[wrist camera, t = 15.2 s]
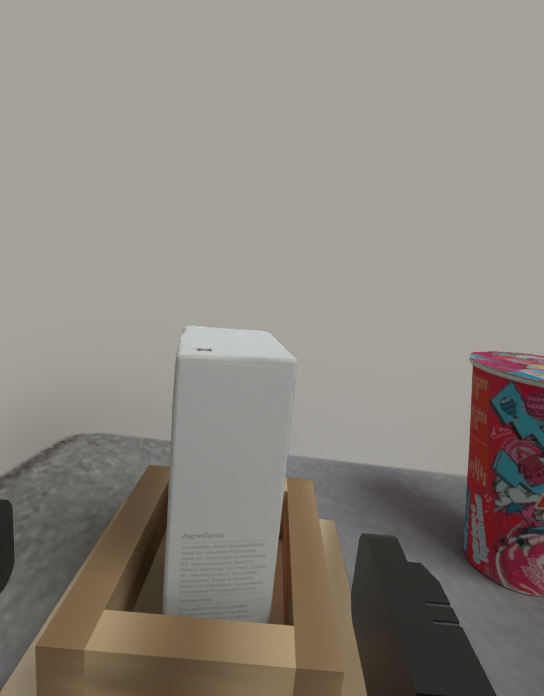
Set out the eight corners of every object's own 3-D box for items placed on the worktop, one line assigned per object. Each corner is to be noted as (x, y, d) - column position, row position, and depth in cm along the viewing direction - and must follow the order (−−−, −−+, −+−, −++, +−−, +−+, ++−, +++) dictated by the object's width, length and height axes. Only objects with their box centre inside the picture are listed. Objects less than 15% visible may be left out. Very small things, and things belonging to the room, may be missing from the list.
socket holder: (332, 534, 25) (340, 475, 25) (388, 806, 13) (408, 702, 12) (122, 516, 25) (123, 456, 25) (-33, 771, 13) (-41, 664, 12)
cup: (583, 656, 19) (658, 405, 16) (410, 553, 24) (445, 357, 22) (612, 564, 25) (668, 375, 23) (469, 500, 31) (502, 344, 28)
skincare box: (269, 655, 16) (302, 360, 14) (158, 665, 15) (171, 354, 13) (251, 549, 22) (271, 329, 20) (169, 552, 21) (180, 323, 19)
